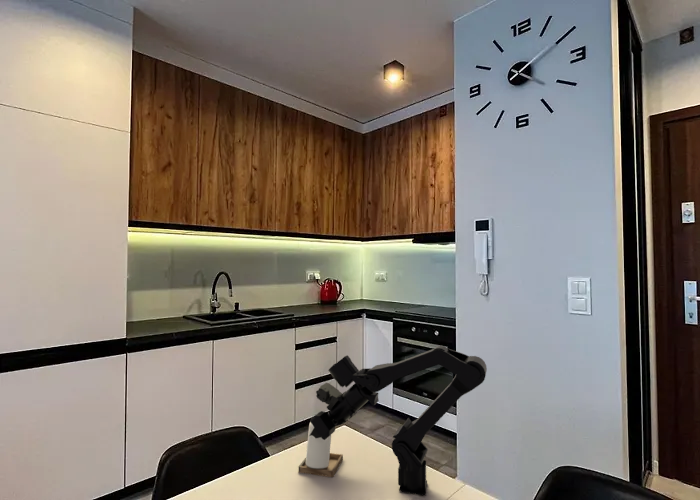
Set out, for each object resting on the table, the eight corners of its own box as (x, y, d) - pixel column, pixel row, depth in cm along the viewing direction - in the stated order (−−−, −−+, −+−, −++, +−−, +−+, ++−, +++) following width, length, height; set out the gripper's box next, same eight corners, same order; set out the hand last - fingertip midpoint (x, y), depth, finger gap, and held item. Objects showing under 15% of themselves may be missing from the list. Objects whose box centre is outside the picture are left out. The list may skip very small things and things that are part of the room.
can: (326, 470, 101) (330, 421, 105) (302, 467, 102) (307, 419, 105) (330, 464, 108) (333, 418, 111) (307, 461, 108) (312, 416, 112)
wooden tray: (342, 459, 110) (342, 454, 111) (332, 477, 101) (332, 471, 101) (311, 455, 113) (311, 450, 113) (298, 472, 103) (298, 466, 104)
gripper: (348, 368, 115) (315, 399, 119) (318, 384, 98) (281, 420, 102) (372, 399, 112) (337, 430, 116) (344, 421, 95) (305, 457, 99)
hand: (316, 433), depth 108 cm, fingers closed on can, 6 cm apart
